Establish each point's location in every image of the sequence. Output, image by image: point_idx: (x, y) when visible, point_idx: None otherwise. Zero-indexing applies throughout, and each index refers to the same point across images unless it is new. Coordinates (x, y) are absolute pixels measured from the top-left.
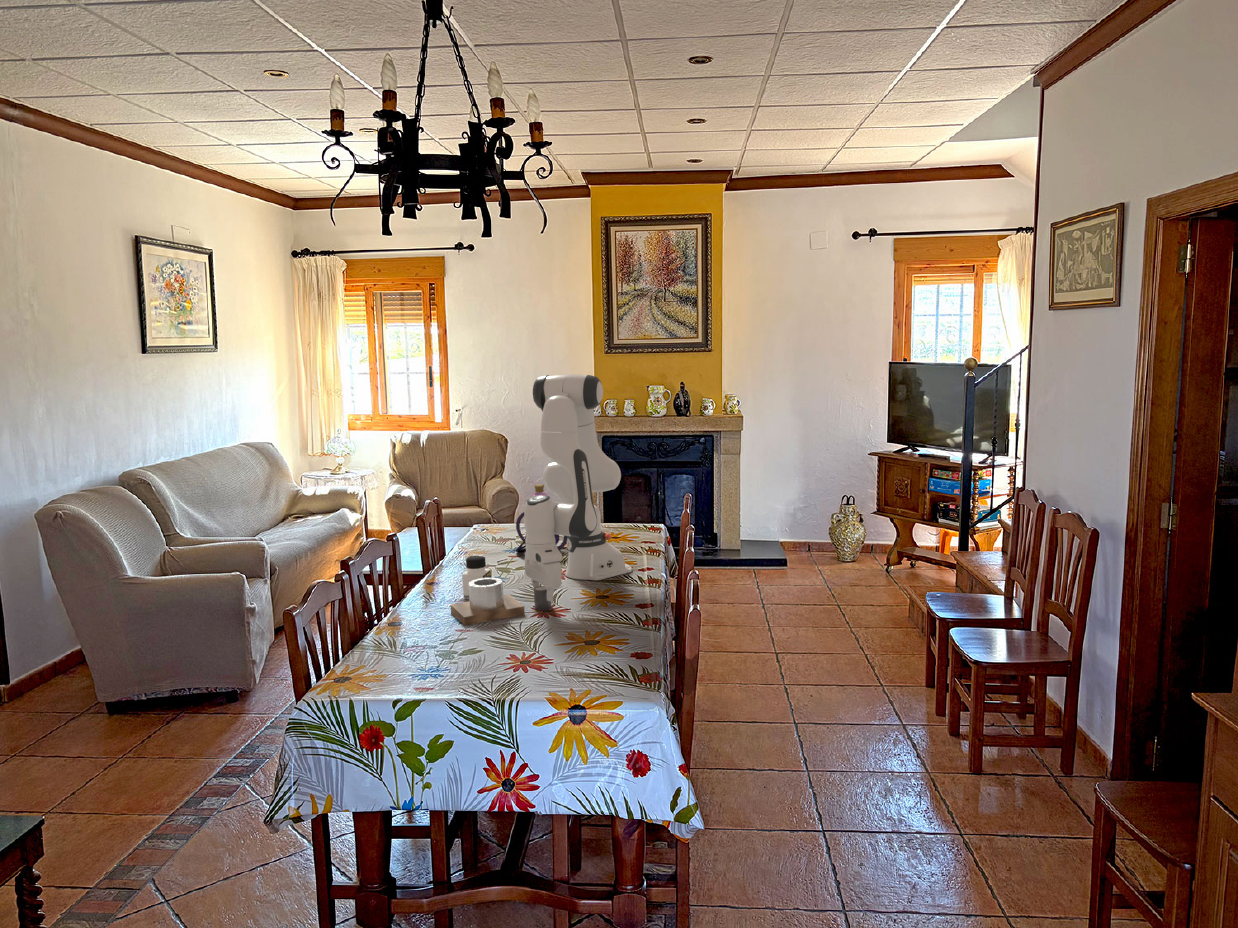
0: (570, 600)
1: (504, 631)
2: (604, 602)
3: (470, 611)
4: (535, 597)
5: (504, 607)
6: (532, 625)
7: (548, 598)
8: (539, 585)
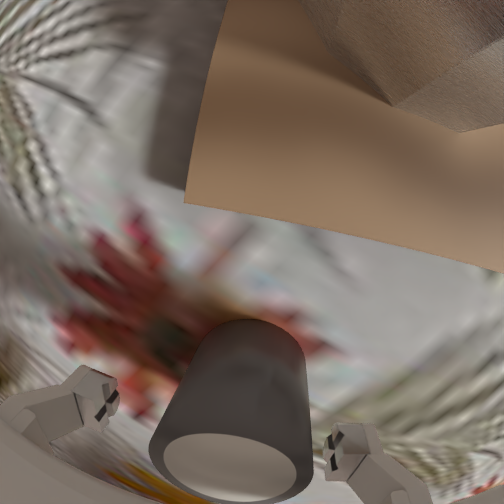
0: None
1: (64, 13)
2: (150, 494)
3: None
4: (234, 370)
5: (281, 49)
6: (30, 147)
7: (73, 376)
8: (351, 487)
